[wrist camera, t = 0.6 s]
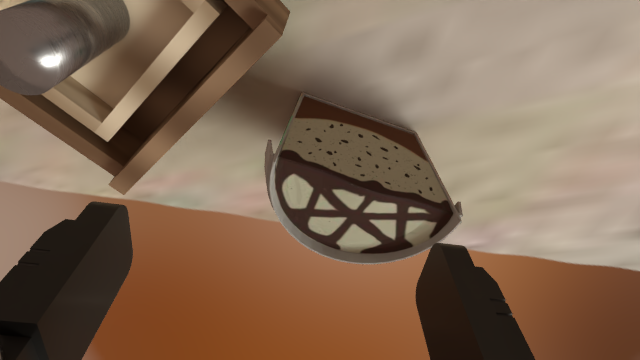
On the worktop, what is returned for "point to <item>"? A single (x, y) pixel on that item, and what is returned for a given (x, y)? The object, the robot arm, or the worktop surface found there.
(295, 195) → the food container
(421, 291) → the robot arm
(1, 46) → the grey beige boxy piece
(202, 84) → the bay
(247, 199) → the worktop surface
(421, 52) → the worktop surface
